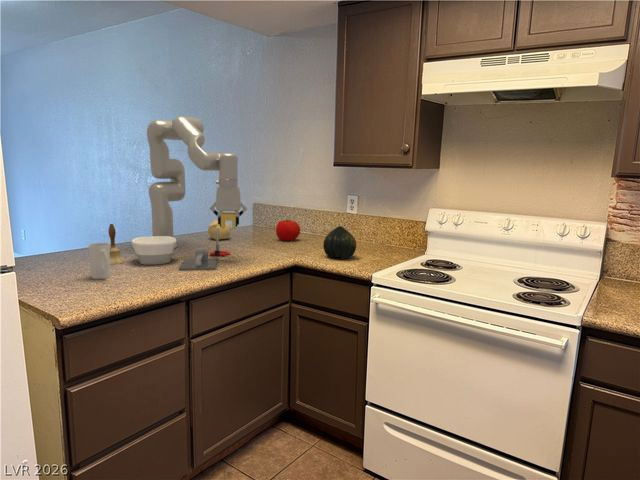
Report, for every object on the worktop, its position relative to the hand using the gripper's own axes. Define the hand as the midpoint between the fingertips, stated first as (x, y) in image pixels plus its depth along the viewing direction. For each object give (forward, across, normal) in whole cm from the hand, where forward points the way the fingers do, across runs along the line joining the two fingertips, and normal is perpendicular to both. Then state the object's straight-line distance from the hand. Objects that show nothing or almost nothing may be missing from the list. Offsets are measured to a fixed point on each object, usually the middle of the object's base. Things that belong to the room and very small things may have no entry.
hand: (228, 225), depth 190 cm
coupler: (+15, -11, -7) cm, 20 cm away
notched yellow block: (+1, 0, 0) cm, 1 cm away
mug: (+16, -44, -26) cm, 53 cm away
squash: (+15, +50, +6) cm, 52 cm away
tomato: (+16, +30, +50) cm, 60 cm away
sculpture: (+16, -7, +54) cm, 57 cm away
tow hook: (+16, -4, +14) cm, 22 cm away
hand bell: (+16, -46, 0) cm, 49 cm away
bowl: (+16, -30, 0) cm, 34 cm away
